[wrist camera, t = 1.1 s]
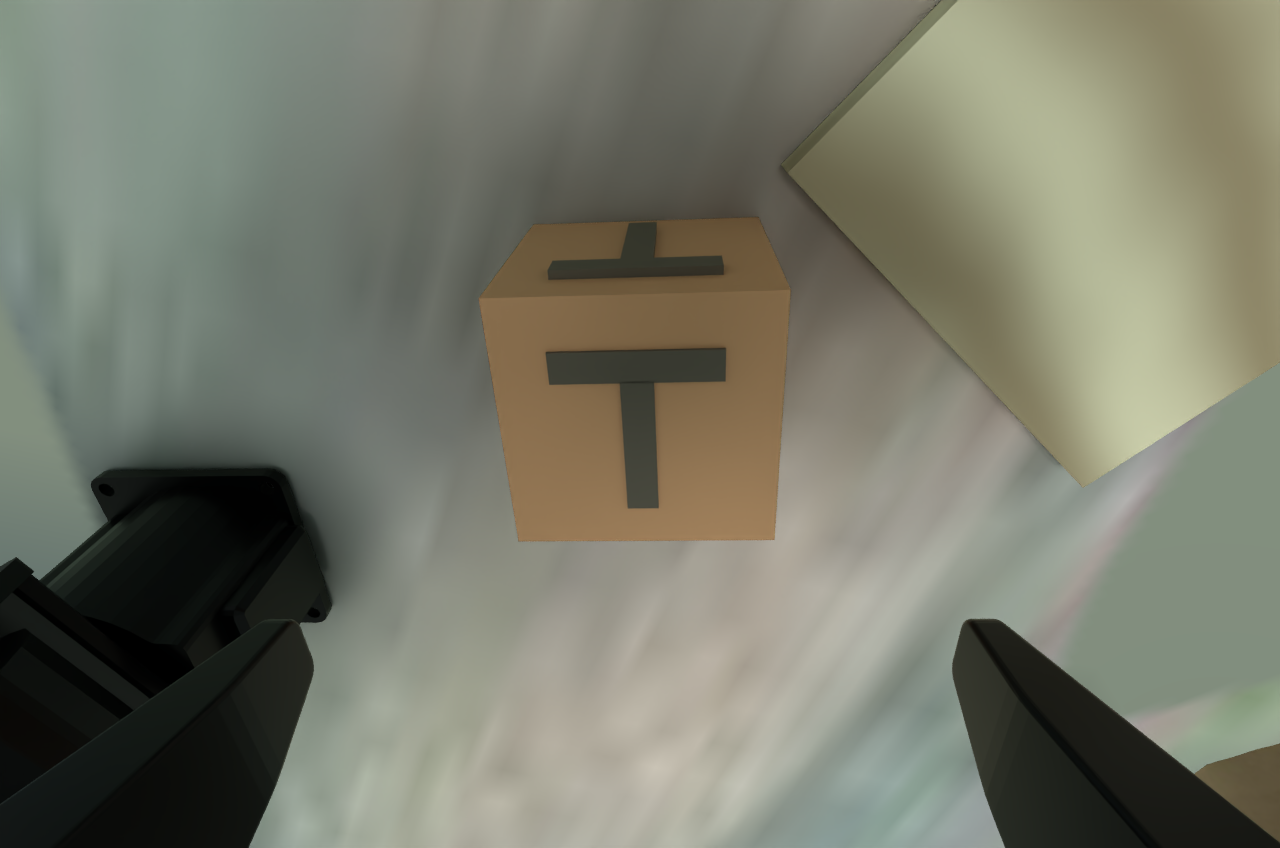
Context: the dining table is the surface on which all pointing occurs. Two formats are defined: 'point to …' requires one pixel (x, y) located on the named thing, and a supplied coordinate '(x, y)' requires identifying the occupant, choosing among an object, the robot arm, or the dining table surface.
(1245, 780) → the food dish
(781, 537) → the dining table surface
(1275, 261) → the cream flat square slab
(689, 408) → the letter cube
